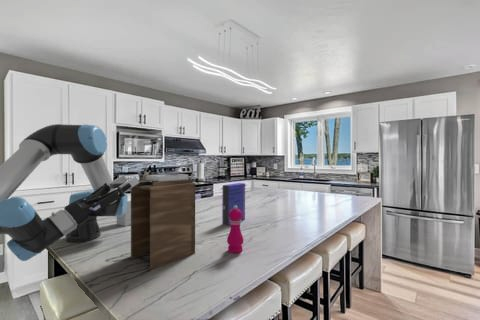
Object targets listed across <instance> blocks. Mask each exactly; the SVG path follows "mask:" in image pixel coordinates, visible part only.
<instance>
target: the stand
mask: <svg viewBox="0 0 480 320" xmlns="http://www.w3.org/2000/svg"><path fill="white" fill-rule="evenodd" d="M138 181H146V179H138ZM130 198H131V225H130V257H131V258H132V257H135V256H139V255H141V254H146V253H149V268H150V269H152V270H153V269H155V268H158V267H161V266H163V265H166V264H168V263H169V264H170V263H171V262H174V261H177V260H180V259H183V258H186V257H189V256H191V255H193V254H196V182H195V183H194V182H193V179H192V178H191V179H189V178H188V180H177V181H165V182H152V185H147V186H136V187H132V188H131V189H130Z"/></svg>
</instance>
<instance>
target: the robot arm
mask: <svg viewBox="0 0 480 320" xmlns="http://www.w3.org/2000/svg"><path fill="white" fill-rule="evenodd" d="M107 143H108V142H107V137H106V134H105V133H104V131H103V129H102V128H100V127H99V126H97V125H93V124H58V123H57V124H56V123H55V124H51V125H47V126H44V127H42V128H39V129H37V130H36V131H34V132H32V133H31V134H29V135H28V136H27V137H26V138H24V139H23V140H22V141H21V142H20V143H19V144H18V149H17V150H16V151H15V152H14V153H13V154H12V155H10V157H8V159H6V160H5V161H4V162H3V163H2V164H1V165H0V235H8V236H9V237H10V238H11V239H10V240H9V241H8V240H7V242H6V246H7V247H8V248H9V249H8V250H10V251H11V253H13V255H14V256H15V257H17V259H18V260H19V261H21V262H26V261H28V260H31V259H33V258H34V257H35V256H37V255H39V254H41V253H43V251H44V250H46V249H47V248H49V247H50V246H51V245H52V246H53V244H55V243H57V242H58V241H59V240H60V239H62V238H63V237H64V240H65V242H67V243H82V242H88V241H91V240H95V239H97V238H100V236H101V234H102V233H101V229H100V225H99V224H98V218H97V217H115V218H117V216H122V215H123V214H124V213H125V211H126V208H127V202H128V198H129V197H128V194H127V192H128V191H129V190H131V188H132V187H134V186H135V185H137V184H138V183H139V181H138V180H139V179H138V177H137V176H134V177H131V178H130V179H129V180H128V179H127V177H126V176H125V175H124V174H121V175H120V176H119V177H117V178H116V179H114V180H113V179H112V176H111V174H110V171H109V169H108V166H107V164H106V161H105V159H104V155H105V153H106V150H107V147H108V146H107V145H108V144H107ZM56 155H70V156H71V158H72V159H73V161H74V162H75V163H78V164H80V166H81V167H82V170H83V171H84V173H85V175H86V177H87V180H88V181H89V183H90V185H91V187H92V190H84V191H80V192H75V193H72V194H71V195H70V196H69V200H68V204H67V205H66V206H64V207H63V208H64V209H60V210H57V211H56V212H54V211H52V213H50V214H51V215H49V216H48V217H45V218H44V219H42V217H40V215H39V214H38V212H37V211H36V210H35V208H34V206H33V205H32V204H30V203H29V202H28V201H27V200H26V198H24V197H21V196H12V195H13V194H14V193H15V192H16V191H17V190H18V188H19V187H20V186H21V185H22V184H24V183H23V182H25V181H26V179H27V178H28V177H29V176H30V175H31V174H32V173H33V172H34V171H35V169H36V168H37V167H38V166H39V165H40V164H41V163H42V162H45V161H47V160H49V159H50V158H51V157H52V156H56ZM112 183H124V184H122V185H121V186H119V188H114V189H113V188H110V184H112Z"/></svg>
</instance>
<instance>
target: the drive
mask: <svg viewBox="0 0 480 320" xmlns="http://www.w3.org/2000/svg"><path fill="white" fill-rule="evenodd" d="M145 176H146V177H145V178H146V179H145V180H146V181H139V183H138V184H137V185H135V186H134V187H136V186H147V185H152V182H165V181H177V180H189V174H184V173H183V174H182V173H178V172H172V171H171V172H165V173H161V174H146V175H145ZM122 184H124V183H112V184H110V188H113V189H114V188H119V186H121V185H122Z"/></svg>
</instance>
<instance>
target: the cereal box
mask: <svg viewBox="0 0 480 320" xmlns="http://www.w3.org/2000/svg"><path fill="white" fill-rule="evenodd" d="M221 198H222V204H221V206H222V219H221V221H222V223H221V224H222V225H224V226H231V224H230V220H231V219H230V218H229V212H230V210H232V209H234V206H235V205H236V206H237V207H238V208H237V209H239V210H241V212H242V218H241V219H240V220H241V222H242V221H245V220H246V183H244V182H236V183H230V184H228V183H227V184H224V185H222V197H221Z"/></svg>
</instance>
